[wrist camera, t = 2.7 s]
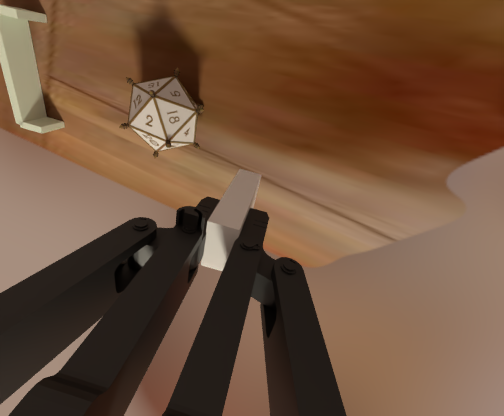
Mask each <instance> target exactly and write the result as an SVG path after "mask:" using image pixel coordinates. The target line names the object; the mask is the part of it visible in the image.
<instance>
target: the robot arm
mask: <svg viewBox="0 0 504 416" xmlns="http://www.w3.org/2000/svg"><path fill="white" fill-rule="evenodd" d="M260 179H261V174H257V173H253V172H250V171H246V170H243V169H239V171H238V173H237V174H236V176H235V177H234V179H233V181H232V182H231V184H230V185H229V187H228V189H227V190H226V192H225V193H224V195H223V197H222V198H221V200H218V199H215V198H211V197H206V198H204V199H202V200H201V201H200V202H199V204H198V205H197V206H196V207H192V206H185V207H182V208H179V209H178V210H177V216H176V225H175V227H174V228H157V225H156V222H155V221H153V220H152V219H149V218H143V217H139V218H134V219H132V220H129V221H127V222H125V223H124V224H122V225H120V226H118V227H117V228H115V229H113V230H111V231H110V232H108V233H106V234H104V235H102V236H101V237H99V238H97V239H96V240H94V241H92V242H90V243H88V244H87V245H85V246H83V247H81V248H80V249H78V250H76V251H74V252H72V253H71V254H69V255H67V256H65V257H64V258H62V259H60V260H58V261H56V262H55V263H53V264H51V265H49V266H48V267H46V268H44V269H42V270H41V271H39V272H37V273H35V274H33V275H32V276H30V277H28V278H26V279H25V280H23V281H21V282H19V283H18V284H16V285H14V286H12V287H10V288H9V289H7V290H5V291H3V292H2V293H0V404H1V403H3V401H5V400H6V399H7V398H8V397H9V396H11V395H12V394H13V393H14V392H15V391H16V390H18V389H19V388H20V387H21V386H22V385H24V384H25V383H26V382H27V381H28V380H29V379H31V378H32V377H33V376H34V375H35V374H36V373H37V372H39V371H40V370H41V369H42V368H43V367H44V366H45V365H47V364H48V363H49V362H50V361H51V360H53V358H55V357H56V356H57V355H58V354H60V353H61V352H62V351H63V350H64V349H65V348H67V347H68V346H69V345H70V344H71V343H72V342H73V341H75V340H76V339H77V338H78V337H79V336H81V335H82V334H83V333H84V332H85V331H86V330H87V329H89V328H90V327H91V326H92V325H93V324H95V323H96V322H97V321H98V320H99V319H100V318H102V319H101V320H100V321H99V322H98V324H97V325H96V326H95V327H94V329H93V330H92V331H91V332H90V334H89V335H88V336H87V337H86V339H85V340H84V341H83V343H82V344H81V345H80V346H79V348H78V349H77V350H76V351H75V353H74V354H73V355H72V356H71V358H70V359H69V360H68V361H67V363H66V364H65V365H64V366H63V368H62V369H61V370H60V371H59V372H58V373H57V374H55V375H54V376H50V377H47V378H44V379H42V380H41V381H40V382H38V383H37V384H36V385H35V386H34V387H33V388H32V389H31V390H30V391H29V392H28V393H27V394H26V395H25V396H24V398H23V399H22V400H21V401H20V402H19V404H18V405H17V406H16V407H15V408H14V410H13V411H12V412H11V413H10V414H9V416H124V414H125V412H126V410H127V408H128V406H129V404H130V402H131V400H132V398H133V397H134V395H135V392H136V391H137V389H138V387H139V385H140V383H141V381H142V379H143V377H144V375H145V373H146V371H147V369H148V367H149V365H150V363H151V362H152V359H153V357H154V356H155V354H156V351H157V350H158V348H159V346H160V344H161V342H162V340H163V338H164V336H165V334H166V332H167V330H168V328H169V326H170V325H171V323H172V321H173V319H174V317H175V315H176V313H177V311H178V309H179V307H180V305H181V303H182V300H183V299H184V297H185V295H186V293H187V291H188V289H189V287H190V286H191V284H192V282H193V280H194V278H195V276H196V274H197V271H198V264H199V263H200V261H201V259H202V261H201V265H203V266H206V267H210V268H213V269H216V270H220V271H222V274H221V276H220V279H219V281H218V283H217V286H216V288H215V291H214V293H213V296H212V298H211V301H210V303H209V306H208V308H207V311H206V313H205V315H204V318H203V320H202V323H201V325H200V328H199V331H198V333H197V335H196V338H195V340H194V343H193V346H192V348H191V350H190V352H189V355H188V357H187V360H186V362H185V365H184V368H183V370H182V372H181V375H180V377H179V380H178V382H177V384H176V387H175V389H174V392H173V394H172V397H171V399H170V402H169V404H168V407H167V408H166V411H165V412H164V413H163V414H162V416H222V413H223V408H224V405H225V400H226V396H227V392H228V388H229V384H230V380H231V376H232V371H233V367H234V363H235V359H236V355H237V351H238V347H239V343H240V338H241V334H242V330H243V326H244V322H245V317H246V314H247V309H248V305H249V301H250V297H253V298H254V299H256V300H257V301H259V302H260V303H261V305H260V307H261V318H262V329H263V340H264V351H265V362H266V373H267V384H268V395H269V405H270V416H346V413H345V409H344V406H343V402H342V399H341V396H340V392H339V389H338V386H337V382H336V379H335V375H334V372H333V369H332V365H331V362H330V358H329V355H328V352H327V349H326V345H325V342H324V338H323V335H322V332H321V328H320V325H319V321H318V318H317V315H316V311H315V308H314V304H313V301H312V298H311V294H310V291H309V287H308V284H307V281H306V277H305V274H304V270H303V268H302V266H301V265H300V264H299V263H298V262H297V261H295V260H293V259H291V258H287V257H281V258H279V259H277V260H274V259H272V258H271V257H270V256H268V255H267V254H266V253H265V251H264V250H263V241H264V237H265V233H266V228H267V224H268V220H269V217H268V214H267V212H263V211H260V210H256V209H253V207H254V203H255V199H256V195H257V191H258V187H259V183H260Z"/></svg>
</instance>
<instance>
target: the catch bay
mask: <svg viewBox="0 0 504 416" xmlns="http://www.w3.org/2000/svg"><path fill="white" fill-rule="evenodd" d="M28 20H30V21H37V22H44V23H47V18H46V14H42V13H38V12H34V11H30V10H26V9H22V8H17V7H12V6H6V5H1V4H0V62H1V66H2V70H3V74H4V78H5V82H6V85H7V89H8V93H9V97H10V101H11V105H12V108H13V112H14V116H15V120H16V123H17V124H20V126H21V128H25V129H28V130H32V131H35V132H39V133H46V132H50V131H53V130H57V129H61V128H64V127H65V126H64V122H63V121H60V120H56V119H53V118H49V117H47V115H46V110H45V105H44V100H43V94H42V89H41V84H40V79H39V74H38V69H37V64H36V59H35V54H34V49H33V44H32V39H31V34H30V29H29V23H28Z"/></svg>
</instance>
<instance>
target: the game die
mask: <svg viewBox="0 0 504 416" xmlns="http://www.w3.org/2000/svg"><path fill="white" fill-rule="evenodd" d="M179 73H180V72H179V69H178V67H177V68H176V69H175V70H174V76H171V77H166V78H161V79H155V80H150V81H145V82H140V83H134V82H133V80H131V78H127V77H126V79H127V83H129V84H131V85H132V93H131V101H130V109H129V117H128V123H127V124H126V123H124V124H123V123H122V124H121V126H120V127H119V128H123V129H125V128H126V129H127V128H128V127H130V128H131V129H132V130H133V131H134V132H135V133H136V134H138V135H139V136H140V137H141V138H142V139H143V140H144V141H145V142H146V143H147V144H149V145H150V146H151V147H152V148H153V149H154V150H155V152H154V154H153V155H154V158H156V157H158V152H159V151H163V150H168V149H173V148H177V147H182V146H187V145H192V144H193V145H194V147H196V148H198V149H200V147H199V145H198V143H195V137H196V128H197V118H198V113H199V114H200V113H202V112H203V111H204V109H203V107H204V106H203V105H201V104H200V105H198V106H197V105H196V103H195V102H194V100H193V99H192V97H191V96H190V95H189V93H188V92H187V90H186V89H185V88H184V86H183V85H182V83H181V82H180V80H179V79H178V78H177V76H178V75H179Z"/></svg>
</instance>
